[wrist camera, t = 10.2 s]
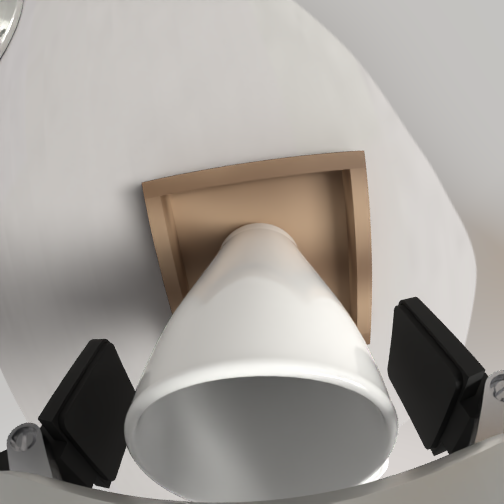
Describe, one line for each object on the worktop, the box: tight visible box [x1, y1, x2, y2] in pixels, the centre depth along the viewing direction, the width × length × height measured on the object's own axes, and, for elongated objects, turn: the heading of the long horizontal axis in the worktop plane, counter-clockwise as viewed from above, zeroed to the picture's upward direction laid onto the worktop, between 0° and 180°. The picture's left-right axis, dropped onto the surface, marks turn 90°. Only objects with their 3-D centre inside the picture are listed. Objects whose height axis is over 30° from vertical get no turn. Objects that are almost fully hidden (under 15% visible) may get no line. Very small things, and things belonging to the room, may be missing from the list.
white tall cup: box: [124, 223, 398, 502], centre depth 13 cm, size 7×7×15 cm
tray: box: [142, 151, 372, 345], centre depth 19 cm, size 13×13×2 cm
